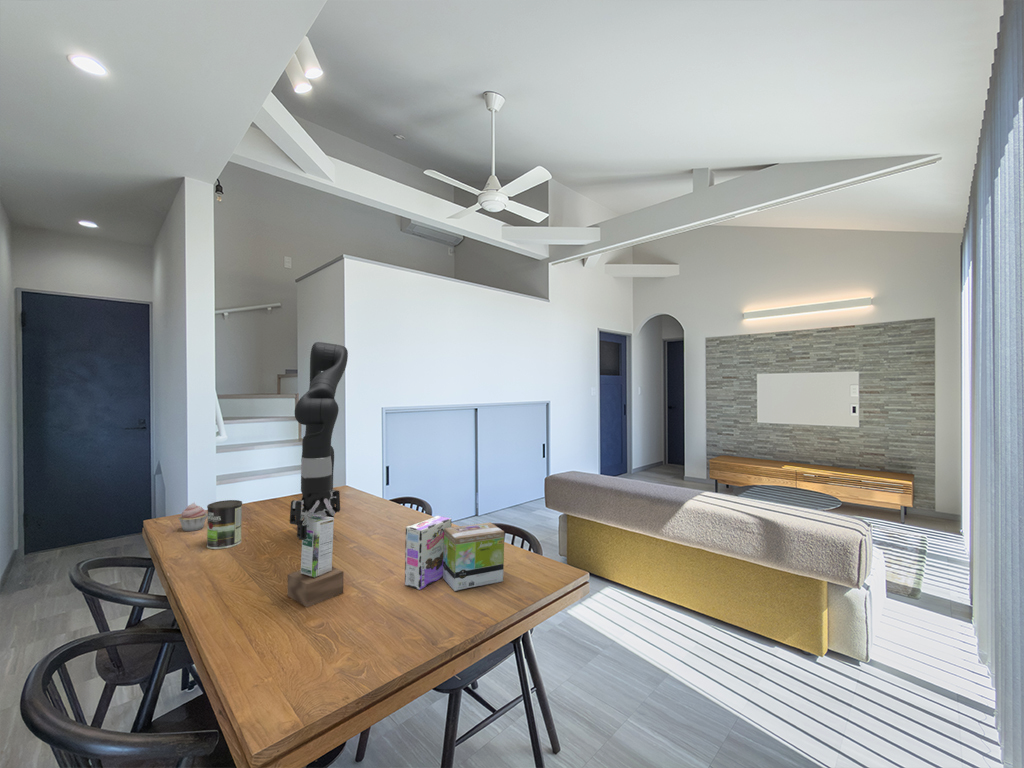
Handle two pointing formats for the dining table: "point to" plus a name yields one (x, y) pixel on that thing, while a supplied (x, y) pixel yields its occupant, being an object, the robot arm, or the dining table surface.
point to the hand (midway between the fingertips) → (316, 534)
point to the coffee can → (224, 524)
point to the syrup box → (317, 546)
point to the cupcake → (193, 518)
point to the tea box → (473, 555)
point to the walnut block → (315, 587)
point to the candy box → (425, 551)
